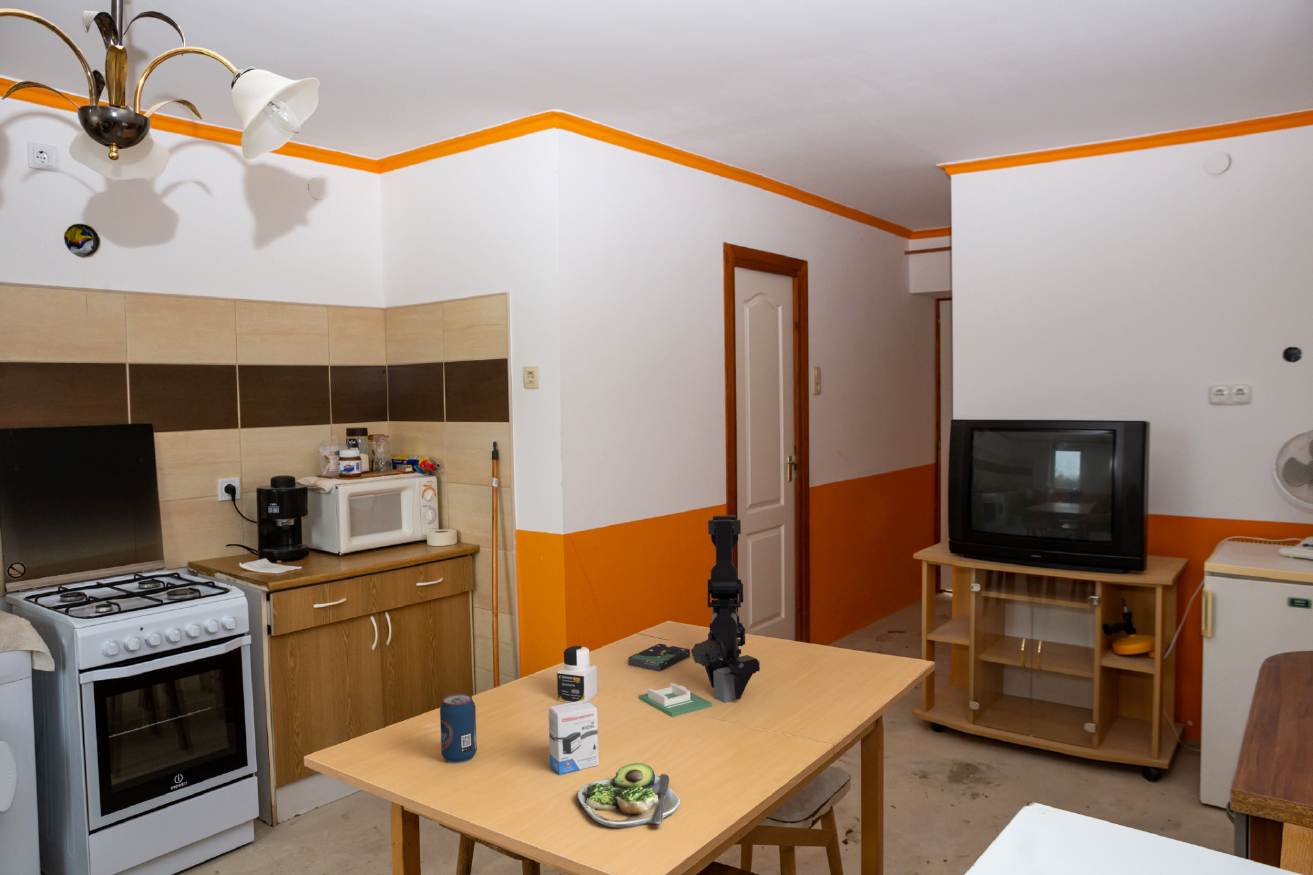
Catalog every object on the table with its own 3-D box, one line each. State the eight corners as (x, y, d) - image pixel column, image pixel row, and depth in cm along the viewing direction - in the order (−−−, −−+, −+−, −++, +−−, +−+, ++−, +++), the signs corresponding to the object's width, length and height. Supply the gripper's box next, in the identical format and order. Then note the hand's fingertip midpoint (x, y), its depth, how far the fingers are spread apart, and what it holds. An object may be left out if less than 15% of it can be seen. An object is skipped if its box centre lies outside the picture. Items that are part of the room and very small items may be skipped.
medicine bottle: (557, 701, 206) (555, 650, 205) (571, 691, 213) (570, 642, 212) (584, 704, 203) (583, 653, 203) (597, 694, 210) (596, 645, 209)
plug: (713, 698, 206) (713, 669, 206) (729, 694, 208) (728, 665, 208) (724, 703, 203) (723, 673, 202) (739, 698, 205) (739, 669, 205)
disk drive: (658, 653, 244) (627, 666, 232) (658, 643, 244) (627, 656, 231) (690, 658, 238) (660, 673, 226) (690, 648, 238) (660, 662, 226)
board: (639, 698, 207) (638, 686, 206) (677, 688, 213) (677, 677, 212) (672, 716, 195) (671, 704, 195) (712, 706, 201) (711, 694, 201)
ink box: (558, 775, 166) (556, 714, 166) (549, 765, 171) (547, 706, 170) (599, 765, 170) (598, 706, 170) (589, 756, 175) (588, 698, 174)
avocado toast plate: (703, 824, 148) (703, 797, 147) (602, 845, 141) (601, 817, 141) (661, 777, 166) (661, 753, 165) (569, 794, 159) (569, 769, 159)
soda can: (436, 756, 176) (433, 697, 176) (467, 747, 180) (466, 689, 180) (450, 767, 171) (448, 707, 170) (483, 758, 175) (481, 699, 174)
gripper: (673, 624, 208) (675, 689, 209) (721, 642, 192) (722, 712, 193) (711, 617, 214) (712, 679, 215) (760, 634, 198) (761, 702, 199)
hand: (725, 693), depth 205 cm, fingers open, 9 cm apart
